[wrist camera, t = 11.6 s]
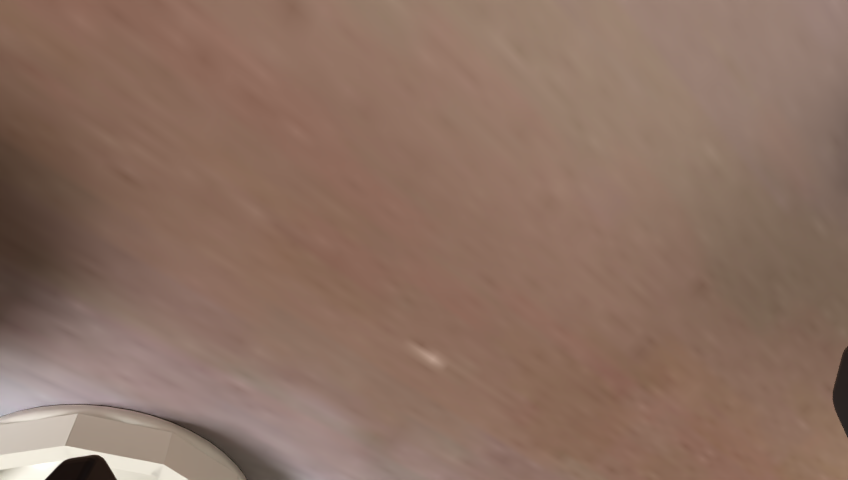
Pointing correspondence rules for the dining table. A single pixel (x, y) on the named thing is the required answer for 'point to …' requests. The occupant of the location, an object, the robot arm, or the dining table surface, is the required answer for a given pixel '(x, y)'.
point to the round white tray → (107, 445)
